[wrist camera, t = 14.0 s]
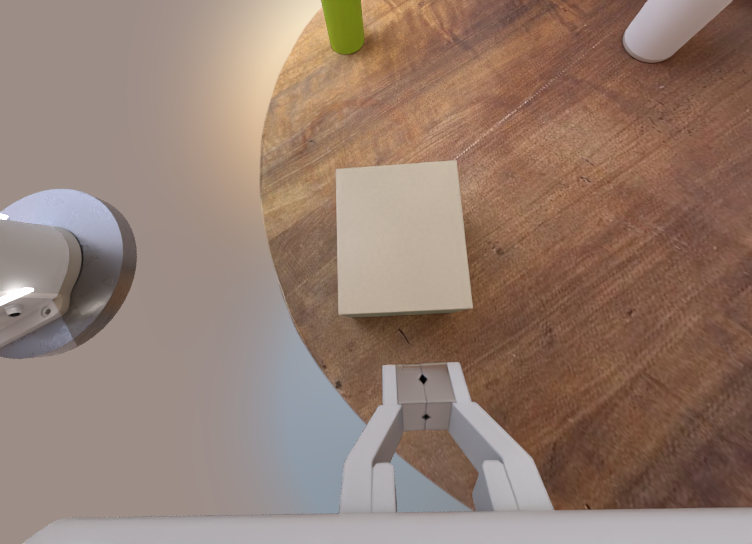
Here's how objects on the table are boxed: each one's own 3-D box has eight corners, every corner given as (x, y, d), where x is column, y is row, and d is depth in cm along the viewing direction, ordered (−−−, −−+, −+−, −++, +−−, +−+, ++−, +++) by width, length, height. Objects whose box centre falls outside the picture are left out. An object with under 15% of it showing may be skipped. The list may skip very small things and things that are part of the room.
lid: (337, 172, 32) (335, 168, 31) (455, 164, 31) (456, 159, 30) (339, 314, 28) (338, 314, 28) (471, 308, 28) (473, 308, 27)
